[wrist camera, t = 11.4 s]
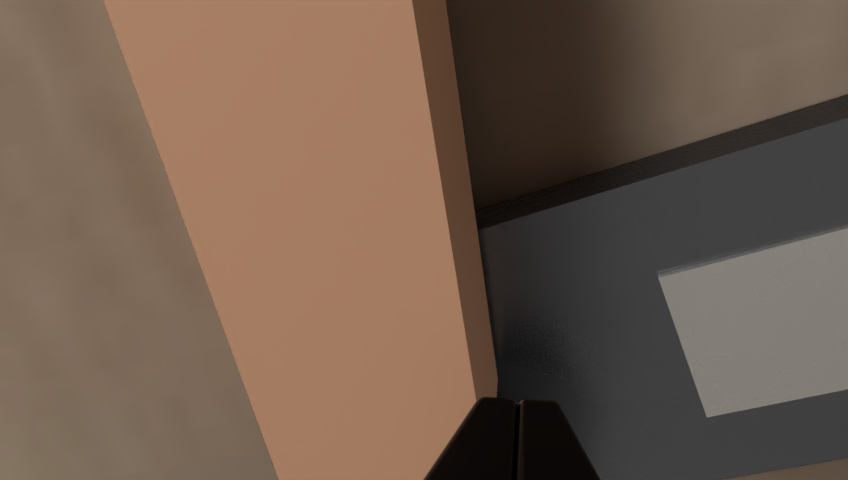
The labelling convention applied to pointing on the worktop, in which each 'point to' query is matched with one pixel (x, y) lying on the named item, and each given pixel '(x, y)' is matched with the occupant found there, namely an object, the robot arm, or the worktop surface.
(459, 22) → the worktop surface
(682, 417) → the label plate
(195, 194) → the swing bar
